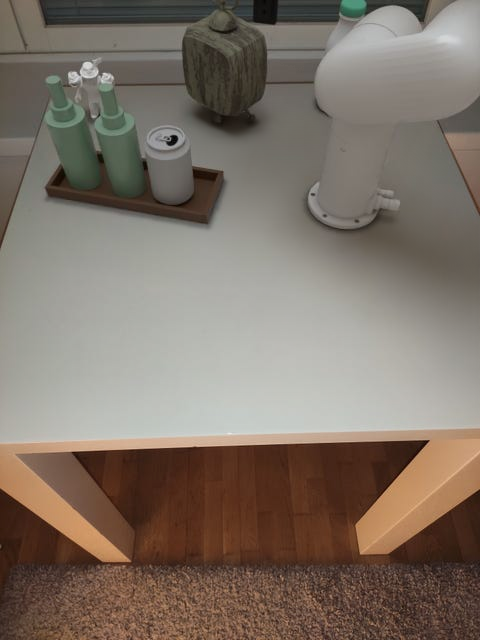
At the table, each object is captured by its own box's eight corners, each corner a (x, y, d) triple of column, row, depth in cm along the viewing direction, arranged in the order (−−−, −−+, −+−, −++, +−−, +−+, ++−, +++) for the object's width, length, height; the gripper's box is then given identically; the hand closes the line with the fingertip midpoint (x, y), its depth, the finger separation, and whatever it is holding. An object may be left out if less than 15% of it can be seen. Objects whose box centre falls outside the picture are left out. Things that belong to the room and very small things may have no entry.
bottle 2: (151, 177, 88) (133, 78, 72) (140, 201, 85) (118, 102, 69) (119, 172, 89) (93, 72, 73) (106, 195, 85) (76, 96, 69)
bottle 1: (108, 170, 89) (81, 70, 73) (95, 193, 85) (63, 94, 70) (76, 165, 90) (42, 65, 74) (62, 187, 86) (23, 88, 70)
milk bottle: (315, 94, 104) (331, -9, 87) (350, 95, 104) (373, -8, 87) (317, 115, 100) (334, 11, 83) (354, 116, 100) (378, 13, 83)
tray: (223, 182, 88) (223, 170, 86) (207, 226, 82) (206, 215, 80) (75, 157, 92) (71, 146, 90) (49, 198, 86) (44, 187, 83)
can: (188, 211, 83) (182, 154, 73) (147, 204, 84) (135, 147, 74) (199, 182, 87) (194, 124, 77) (159, 177, 88) (150, 118, 78)
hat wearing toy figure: (123, 112, 100) (111, 54, 90) (120, 124, 98) (106, 66, 88) (81, 110, 100) (64, 53, 90) (76, 122, 98) (58, 64, 88)
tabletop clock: (264, 121, 98) (272, -15, 77) (235, 142, 95) (236, 4, 74) (212, 94, 103) (207, -41, 82) (183, 113, 100) (170, -23, 79)
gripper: (303, -138, 47) (287, 40, 62) (325, -182, 56) (307, -18, 71) (230, -144, 48) (231, 33, 62) (263, -187, 57) (258, -24, 72)
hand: (271, 6), depth 67 cm, fingers open, 9 cm apart
